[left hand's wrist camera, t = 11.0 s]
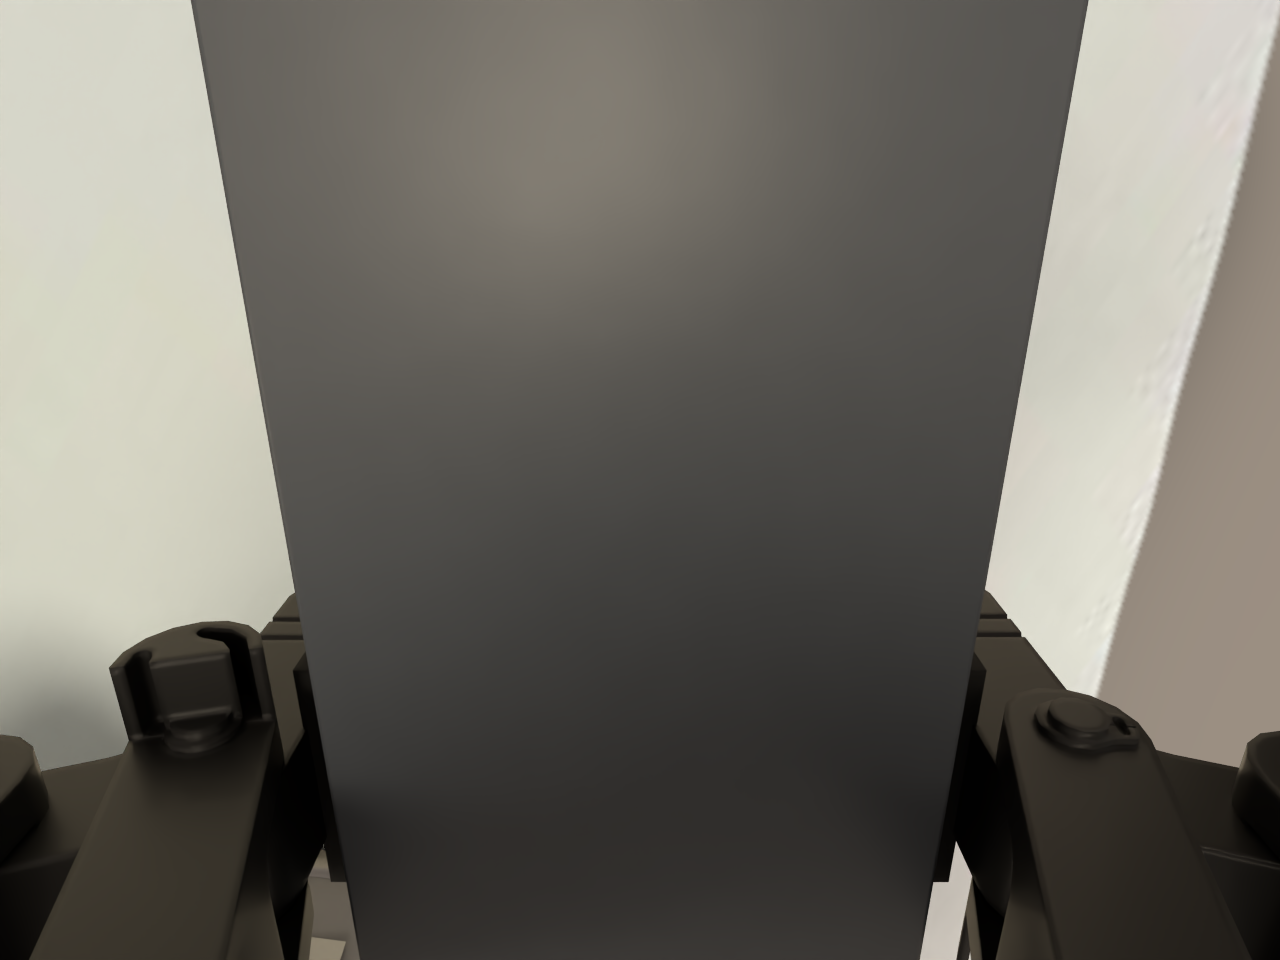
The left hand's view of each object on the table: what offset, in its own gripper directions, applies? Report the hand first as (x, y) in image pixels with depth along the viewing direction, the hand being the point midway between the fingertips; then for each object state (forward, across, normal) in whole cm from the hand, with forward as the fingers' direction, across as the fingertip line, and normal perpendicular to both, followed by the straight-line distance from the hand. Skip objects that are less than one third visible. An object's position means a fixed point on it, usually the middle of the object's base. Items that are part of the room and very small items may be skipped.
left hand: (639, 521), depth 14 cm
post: (+1, 0, -34) cm, 35 cm away
